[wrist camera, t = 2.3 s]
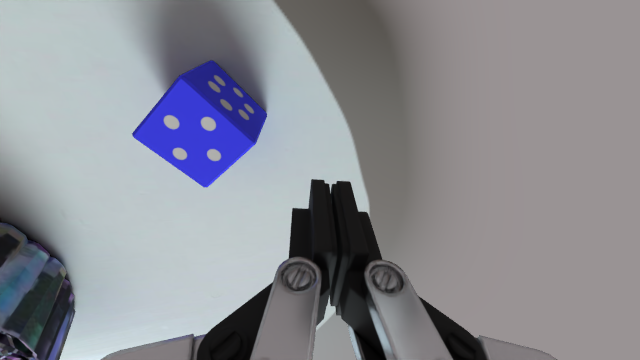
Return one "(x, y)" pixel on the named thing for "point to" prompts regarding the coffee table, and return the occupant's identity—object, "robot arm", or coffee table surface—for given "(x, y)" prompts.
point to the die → (202, 123)
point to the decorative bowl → (32, 299)
